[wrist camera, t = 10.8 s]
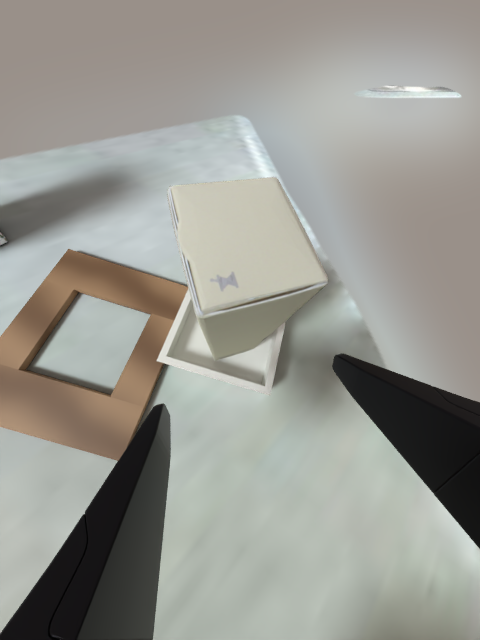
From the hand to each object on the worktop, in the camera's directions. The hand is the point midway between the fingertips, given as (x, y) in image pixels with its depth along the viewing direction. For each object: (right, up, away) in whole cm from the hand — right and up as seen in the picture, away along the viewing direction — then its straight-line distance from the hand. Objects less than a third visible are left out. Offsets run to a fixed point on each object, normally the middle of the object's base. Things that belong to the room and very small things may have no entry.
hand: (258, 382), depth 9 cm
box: (-2, +2, +9) cm, 10 cm away
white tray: (-2, +2, +10) cm, 10 cm away
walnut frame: (-15, +1, +8) cm, 17 cm away
